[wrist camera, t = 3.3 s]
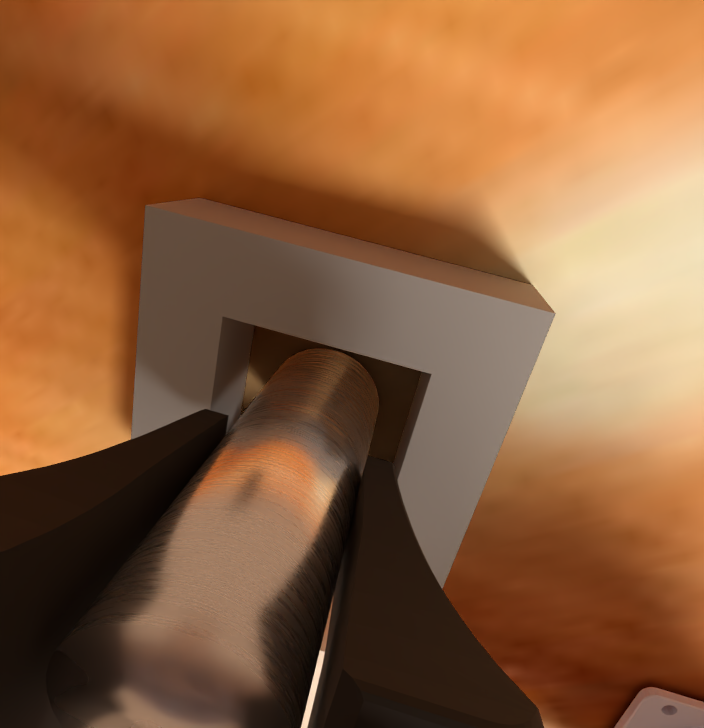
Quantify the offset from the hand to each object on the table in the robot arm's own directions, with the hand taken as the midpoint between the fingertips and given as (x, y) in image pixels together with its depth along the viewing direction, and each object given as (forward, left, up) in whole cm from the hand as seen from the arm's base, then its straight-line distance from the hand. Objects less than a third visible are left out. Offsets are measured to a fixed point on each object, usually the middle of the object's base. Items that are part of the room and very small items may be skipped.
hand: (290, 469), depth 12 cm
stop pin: (0, 0, -4) cm, 4 cm away
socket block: (0, 0, -5) cm, 5 cm away
